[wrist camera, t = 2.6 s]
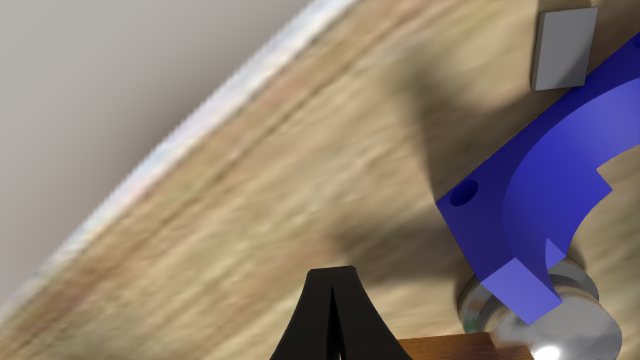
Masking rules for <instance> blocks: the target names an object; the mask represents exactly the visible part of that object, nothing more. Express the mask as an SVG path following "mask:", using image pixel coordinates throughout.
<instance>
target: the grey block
mask: <svg viewBox="0 0 640 360" xmlns="http://www.w3.org/2000/svg"><path fill="white" fill-rule="evenodd" d="M597 13H598V7H585V8H576V9H567V10H558V11H548V12H540V18H539V26H538V34H537V42H536V50H535V58H534V66H533V74H532V82H531V89H533V90H535V91H537V90H546V89H556V88H566V87H575V86H584V84H585V79H586V73H587V68H588V62H589V57H590V51H591V46H592V40H593V35H594V29H595V24H596V18H597Z"/></svg>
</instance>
